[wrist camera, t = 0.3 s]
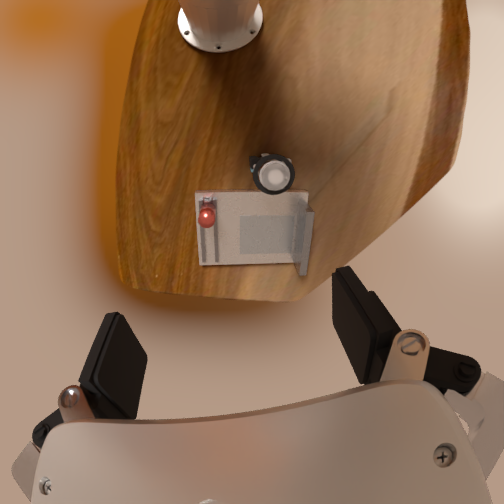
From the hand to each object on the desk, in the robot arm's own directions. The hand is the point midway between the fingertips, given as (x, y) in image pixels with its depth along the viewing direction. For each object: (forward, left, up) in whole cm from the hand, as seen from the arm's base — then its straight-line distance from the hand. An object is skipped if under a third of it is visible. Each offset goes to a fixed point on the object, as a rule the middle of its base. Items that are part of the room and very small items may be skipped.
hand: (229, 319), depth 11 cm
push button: (0, +7, -35) cm, 35 cm away
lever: (+7, -3, -33) cm, 33 cm away
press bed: (+11, +4, -34) cm, 36 cm away
